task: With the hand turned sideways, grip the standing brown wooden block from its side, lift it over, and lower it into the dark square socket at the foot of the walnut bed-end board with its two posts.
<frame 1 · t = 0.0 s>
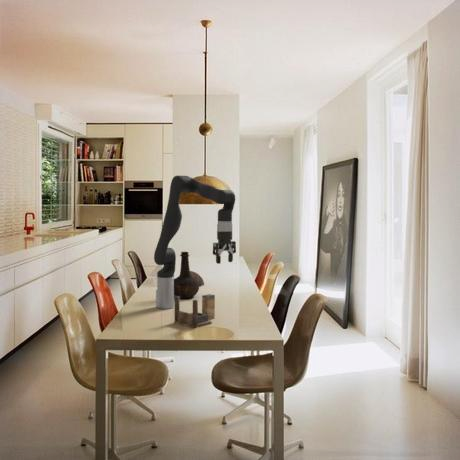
hand: (224, 262, 269), 29 cm above the table, tool pointing down, fingers open, 8 cm apart
decorative dome: (189, 285, 376), on the table
brown wooden block: (208, 318, 275), on the table
glass bottle: (184, 297, 332), on the table
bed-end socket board: (195, 322, 266), on the table
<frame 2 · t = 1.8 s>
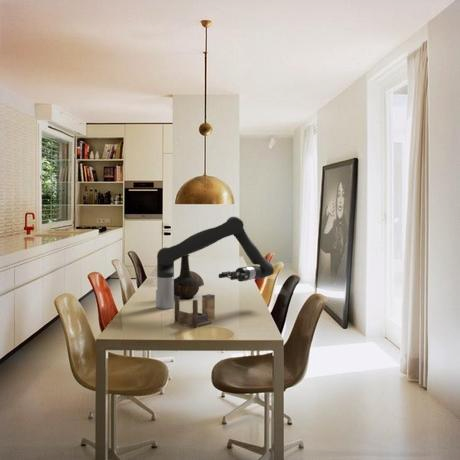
hand: (224, 277, 283), 20 cm above the table, tool horizontal, fingers open, 8 cm apart
nothing on the table moved.
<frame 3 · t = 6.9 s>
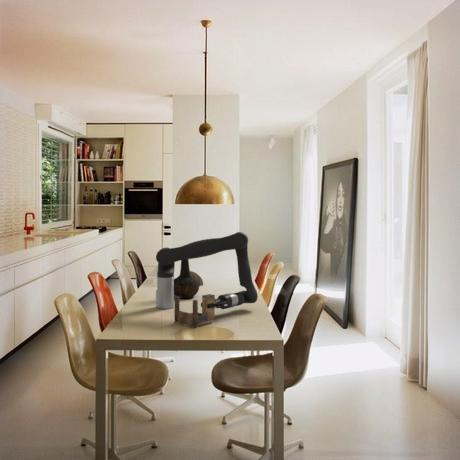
hand: (204, 305, 273), 7 cm above the table, tool horizontal, fingers closed on brown wooden block, 4 cm apart
brown wooden block: (208, 318, 275), on the table, touching gripper
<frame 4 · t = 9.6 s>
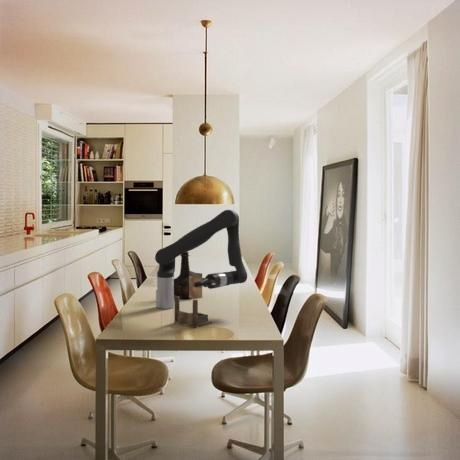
hand: (191, 284, 263), 19 cm above the table, tool horizontal, fingers closed on brown wooden block, 4 cm apart
brown wooden block: (195, 297, 265), point 12 cm above the table, touching gripper
when the fingers open (9 cm above the table, at t = 12.2 s): brown wooden block drops 1 cm, resting on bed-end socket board.
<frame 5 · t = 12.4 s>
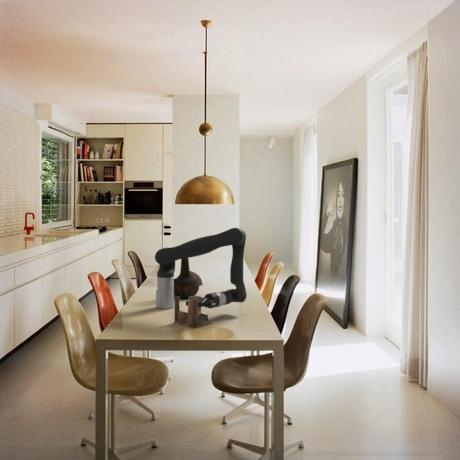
hand: (190, 304, 263), 10 cm above the table, tool horizontal, fingers open, 6 cm apart
brown wooden block: (194, 321, 265), point 1 cm above the table, touching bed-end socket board
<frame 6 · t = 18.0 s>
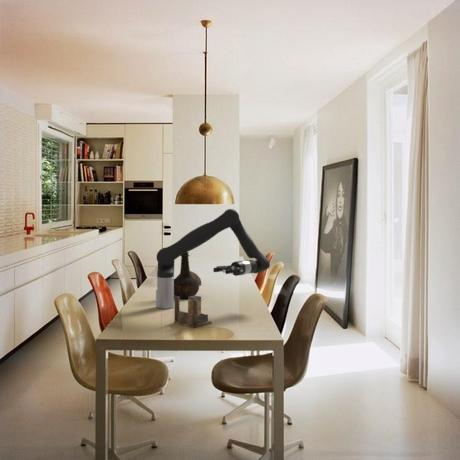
hand: (219, 271, 277), 24 cm above the table, tool horizontal, fingers open, 8 cm apart
at the end: brown wooden block 0.0 cm from the target spot on the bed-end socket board, point 1.0 cm above the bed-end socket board's base; brown wooden block tilted 0°; the gripper is holding nothing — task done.
